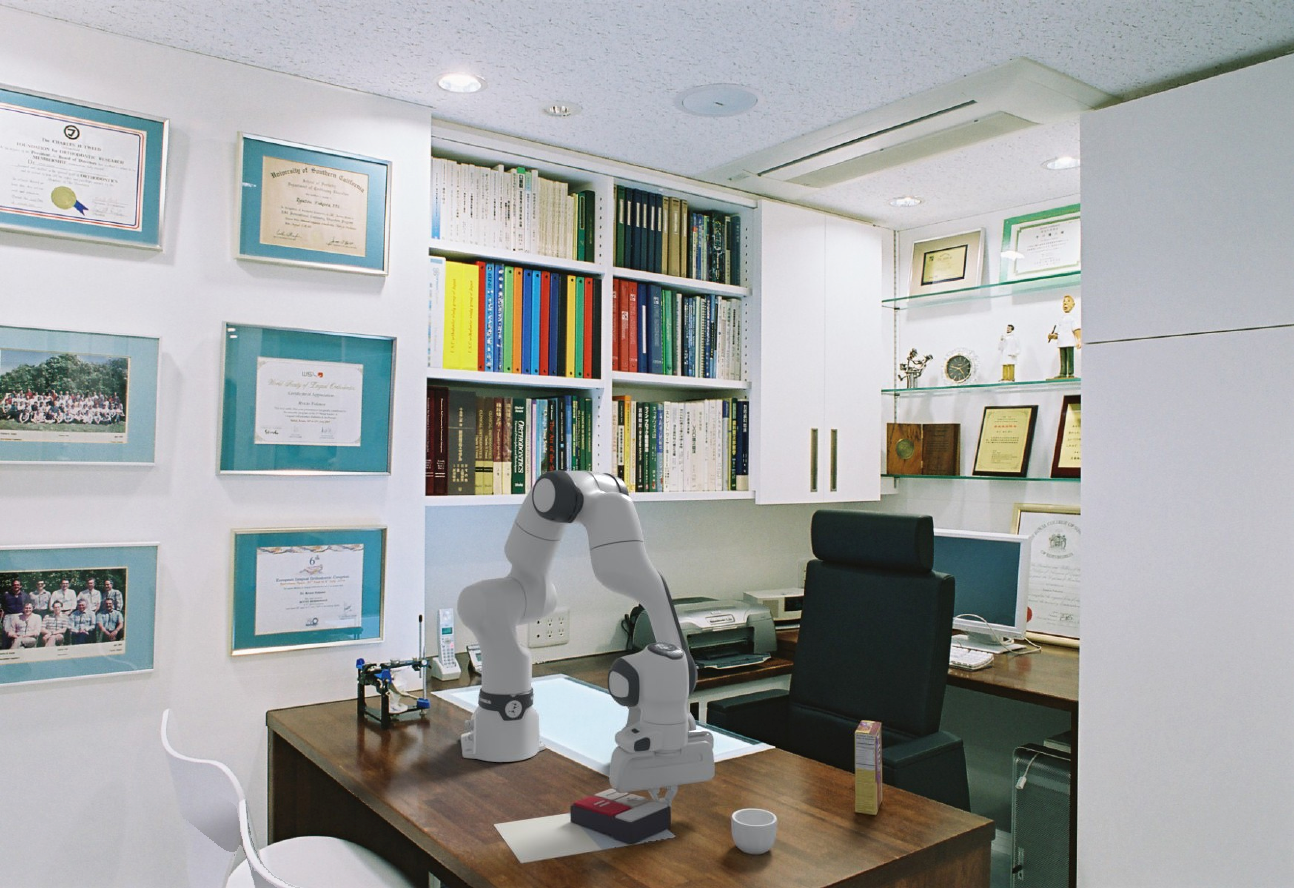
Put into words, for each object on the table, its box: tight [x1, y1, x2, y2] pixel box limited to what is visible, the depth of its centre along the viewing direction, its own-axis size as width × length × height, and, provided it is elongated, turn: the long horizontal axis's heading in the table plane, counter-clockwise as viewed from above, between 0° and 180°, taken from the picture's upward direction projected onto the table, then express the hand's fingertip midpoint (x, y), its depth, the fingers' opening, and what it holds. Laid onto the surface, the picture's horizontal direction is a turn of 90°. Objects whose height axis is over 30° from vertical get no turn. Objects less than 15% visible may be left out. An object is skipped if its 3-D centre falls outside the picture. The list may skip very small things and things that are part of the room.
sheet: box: [493, 812, 676, 864], centre depth 161 cm, size 17×28×1 cm, turn 115°
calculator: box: [569, 788, 672, 845], centre depth 164 cm, size 11×4×15 cm
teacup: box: [730, 808, 778, 855], centre depth 156 cm, size 10×8×5 cm
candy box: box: [854, 720, 883, 816], centre depth 176 cm, size 9×4×15 cm, turn 158°
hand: (662, 809), depth 168 cm, fingers closed
